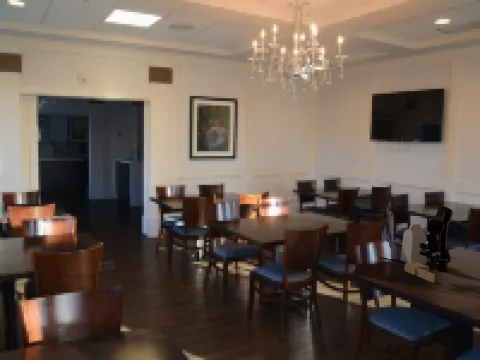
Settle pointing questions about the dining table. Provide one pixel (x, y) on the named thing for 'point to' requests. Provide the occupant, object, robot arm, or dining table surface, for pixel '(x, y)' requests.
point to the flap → (426, 275)
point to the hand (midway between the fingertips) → (433, 266)
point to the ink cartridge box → (393, 247)
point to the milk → (413, 245)
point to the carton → (415, 267)
